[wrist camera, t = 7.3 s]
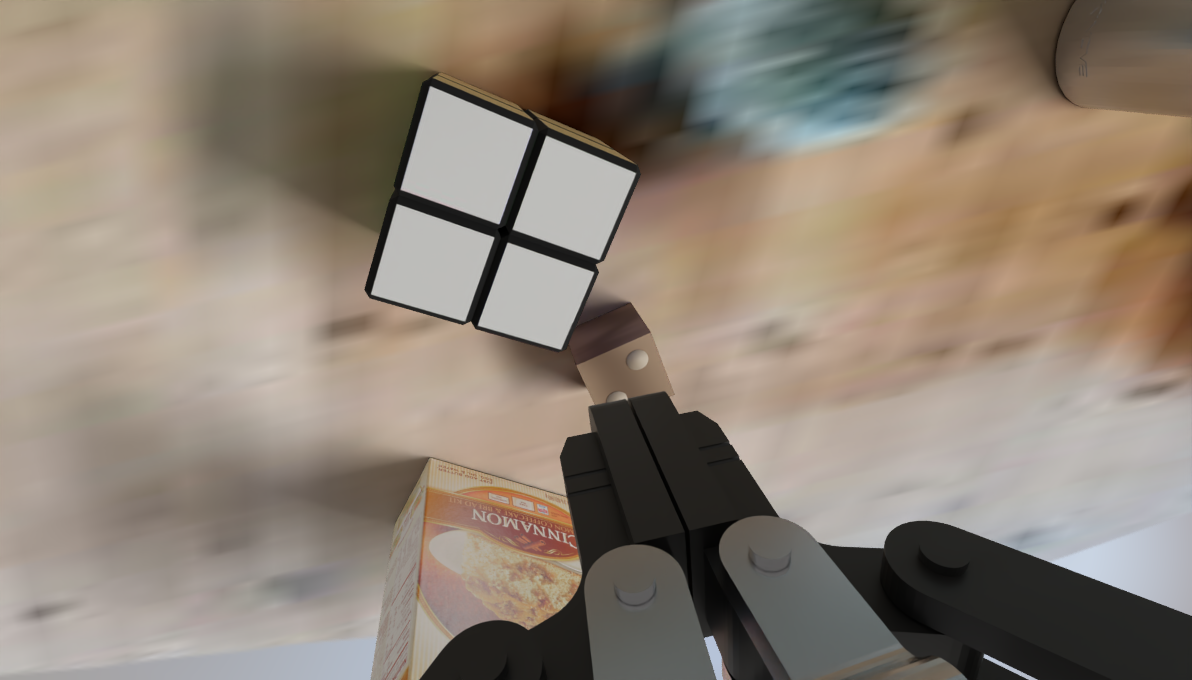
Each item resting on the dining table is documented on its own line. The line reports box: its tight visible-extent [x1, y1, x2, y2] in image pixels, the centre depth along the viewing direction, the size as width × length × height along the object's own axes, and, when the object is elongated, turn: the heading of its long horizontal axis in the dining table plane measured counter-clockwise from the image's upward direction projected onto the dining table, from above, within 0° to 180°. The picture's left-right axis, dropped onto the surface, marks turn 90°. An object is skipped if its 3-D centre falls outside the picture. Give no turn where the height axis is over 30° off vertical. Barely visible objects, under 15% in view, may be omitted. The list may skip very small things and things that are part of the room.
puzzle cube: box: [364, 72, 641, 353], centre depth 31 cm, size 10×10×10 cm
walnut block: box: [569, 303, 675, 405], centre depth 39 cm, size 5×5×5 cm
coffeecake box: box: [371, 458, 582, 680], centre depth 37 cm, size 15×7×20 cm, turn 61°
